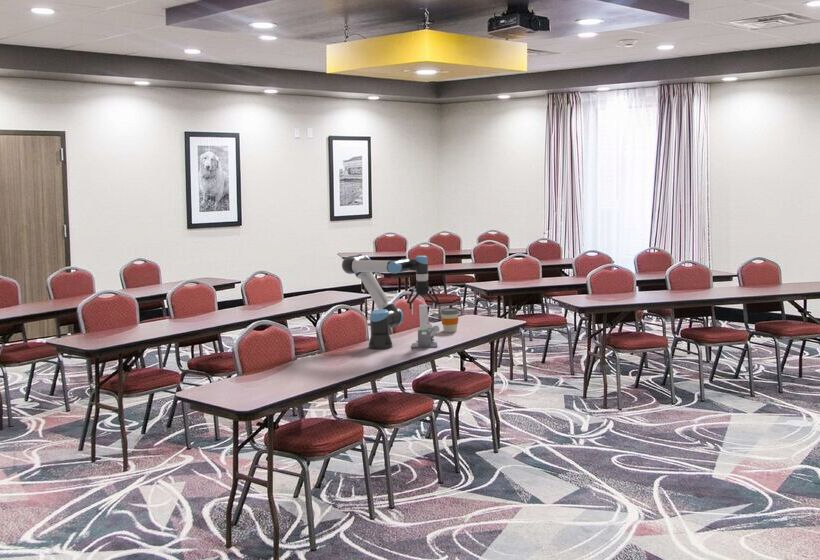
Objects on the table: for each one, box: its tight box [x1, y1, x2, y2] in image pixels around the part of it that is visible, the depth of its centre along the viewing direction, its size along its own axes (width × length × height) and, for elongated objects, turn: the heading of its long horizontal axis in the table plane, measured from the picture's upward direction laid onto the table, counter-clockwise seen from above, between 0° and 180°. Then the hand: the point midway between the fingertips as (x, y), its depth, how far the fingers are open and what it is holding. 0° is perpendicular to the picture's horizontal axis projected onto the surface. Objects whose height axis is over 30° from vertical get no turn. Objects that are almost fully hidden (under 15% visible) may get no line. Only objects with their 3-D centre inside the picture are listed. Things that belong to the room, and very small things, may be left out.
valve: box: [428, 323, 440, 340], centre depth 566 cm, size 10×18×15 cm
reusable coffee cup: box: [440, 307, 460, 333], centre depth 600 cm, size 13×13×15 cm
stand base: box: [411, 329, 438, 349], centre depth 550 cm, size 16×12×10 cm
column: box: [418, 304, 429, 332], centre depth 548 cm, size 5×5×18 cm
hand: (423, 313), depth 548 cm, fingers open, 13 cm apart
